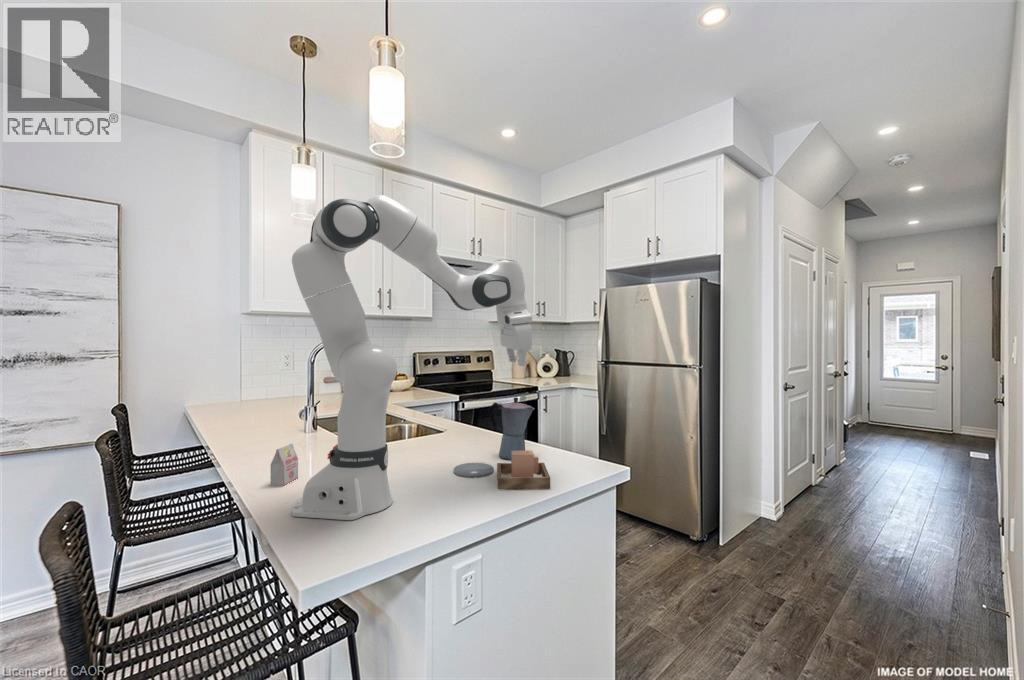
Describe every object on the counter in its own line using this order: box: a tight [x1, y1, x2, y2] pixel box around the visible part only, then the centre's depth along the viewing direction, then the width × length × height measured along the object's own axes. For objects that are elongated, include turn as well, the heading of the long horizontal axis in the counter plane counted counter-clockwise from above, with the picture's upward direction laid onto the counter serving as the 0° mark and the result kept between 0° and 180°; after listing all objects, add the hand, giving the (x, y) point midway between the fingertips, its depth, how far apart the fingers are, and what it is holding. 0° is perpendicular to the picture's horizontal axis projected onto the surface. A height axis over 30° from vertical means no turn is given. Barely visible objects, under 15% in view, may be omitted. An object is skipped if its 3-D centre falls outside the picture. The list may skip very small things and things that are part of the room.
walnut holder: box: [496, 462, 551, 490], centre depth 126 cm, size 14×14×3 cm
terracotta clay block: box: [510, 449, 539, 477], centre depth 126 cm, size 8×4×8 cm, turn 93°
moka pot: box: [488, 397, 535, 461], centre depth 150 cm, size 10×15×20 cm, turn 89°
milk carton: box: [270, 443, 299, 487], centre depth 124 cm, size 4×7×10 cm, turn 173°
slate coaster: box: [453, 462, 495, 479], centre depth 134 cm, size 12×12×1 cm
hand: (517, 363), depth 130 cm, fingers open, 8 cm apart
